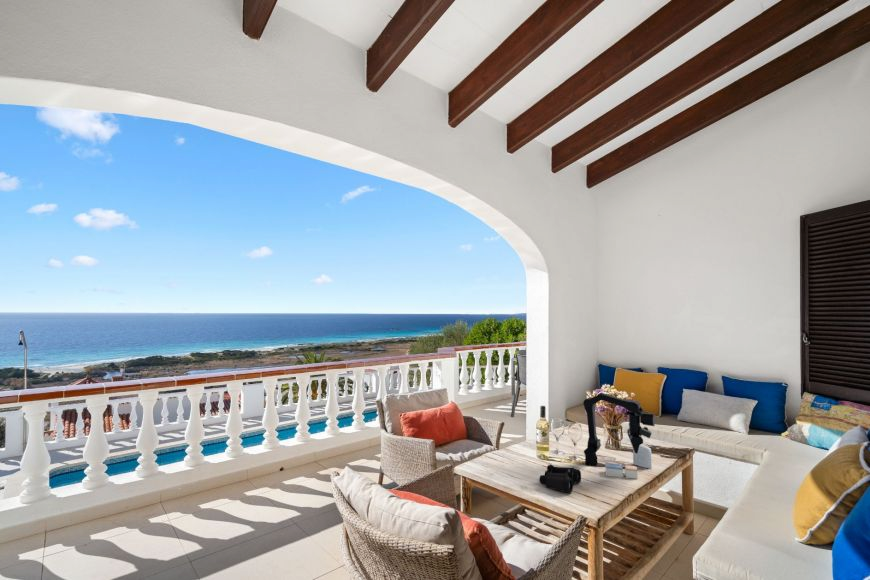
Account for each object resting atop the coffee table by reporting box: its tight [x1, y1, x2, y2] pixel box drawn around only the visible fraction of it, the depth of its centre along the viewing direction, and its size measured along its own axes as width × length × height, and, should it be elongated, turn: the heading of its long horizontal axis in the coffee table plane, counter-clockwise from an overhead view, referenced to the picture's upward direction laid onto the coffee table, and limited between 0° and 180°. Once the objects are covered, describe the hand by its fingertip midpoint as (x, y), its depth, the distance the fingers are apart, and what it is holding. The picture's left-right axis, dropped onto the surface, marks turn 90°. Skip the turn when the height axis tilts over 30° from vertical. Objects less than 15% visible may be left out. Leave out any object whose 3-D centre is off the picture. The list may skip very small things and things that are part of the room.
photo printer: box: [632, 444, 653, 470], centre depth 245 cm, size 10×4×12 cm, turn 43°
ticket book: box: [604, 462, 626, 478], centre depth 233 cm, size 10×6×5 cm, turn 69°
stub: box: [624, 464, 639, 480], centre depth 230 cm, size 6×5×5 cm
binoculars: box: [539, 464, 582, 494], centre depth 221 cm, size 22×19×10 cm
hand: (635, 450), depth 234 cm, fingers open, 9 cm apart
